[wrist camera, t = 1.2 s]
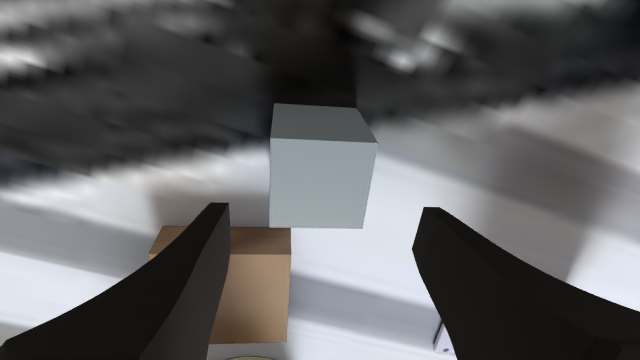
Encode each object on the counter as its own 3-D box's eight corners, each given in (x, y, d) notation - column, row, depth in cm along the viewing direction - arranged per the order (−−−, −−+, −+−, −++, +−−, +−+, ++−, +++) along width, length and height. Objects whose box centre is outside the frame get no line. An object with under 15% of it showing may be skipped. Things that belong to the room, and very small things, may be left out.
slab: (290, 224, 22) (290, 254, 20) (286, 307, 26) (286, 342, 24) (165, 222, 21) (148, 254, 19) (179, 308, 25) (167, 345, 23)
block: (356, 107, 19) (377, 143, 14) (346, 179, 21) (362, 228, 16) (274, 103, 18) (270, 138, 14) (272, 176, 20) (269, 227, 16)
